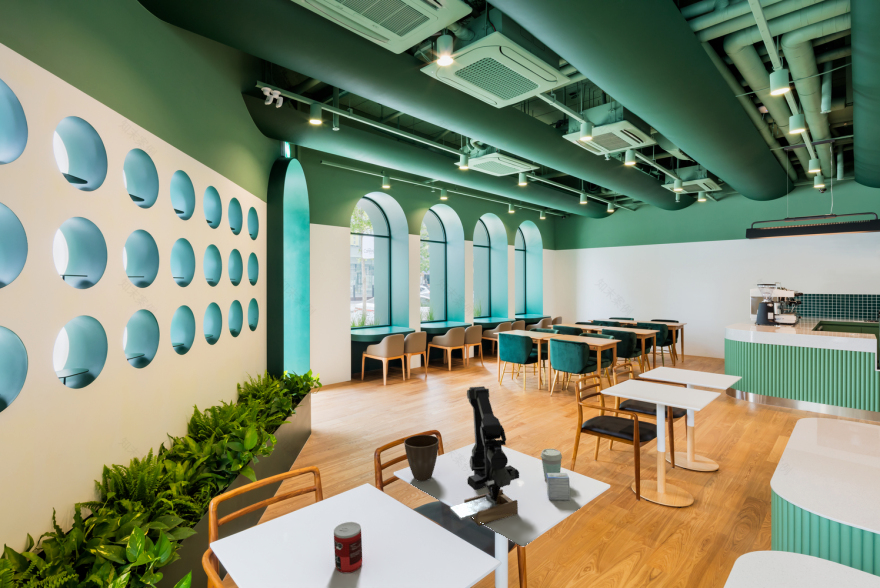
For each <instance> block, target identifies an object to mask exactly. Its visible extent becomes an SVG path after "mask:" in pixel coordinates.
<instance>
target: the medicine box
mask: <svg viewBox="0 0 880 588" xmlns="http://www.w3.org/2000/svg"><path fill="white" fill-rule="evenodd" d="M546 475H547V482H546V493H547V498H548V501H570V500H571V492H570V491H571V490H570V489H571V487H570V477H569V475H568V473H567V472H560V473H546Z"/></svg>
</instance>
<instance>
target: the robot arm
mask: <svg viewBox="0 0 880 588" xmlns="http://www.w3.org/2000/svg"><path fill="white" fill-rule="evenodd" d="M468 388H469V389H467V390H466V397H467V399H468V403H469V404H470V406H471V407H472V413H473V429H474V445H473V448H472V449H471V456H470V458H469V468H470V470H471V471H472V472H473V474H472V475H469V476H468V477H467V479H466V480H467V485H468V486H469V487H471V489H473V490H475V491H479V490H482V489H484V488H485V487H486V488H487V490H488V493H490V495H491V497H492V498H494V499H495V500H497V497H498V494H499V491H500V490H501V489H502V488H504V487H506V486H510V485H511V483H512V481H515V480H517V479H520V471H519V470H518V469H517V468H515V467H514V466H512V465H508V462H509V460H508V456H507V455H506V453H505V452H504V451H503V449H502V446H506V445H507V443H506V441H507V437H506V432H505V429H504V427H503V425H502V424H501V422H500V419H499V418H498V417H497V416H496V415H494V412H493V408H492V405H491V402H490V401H491V400H490V388H486V387H485V386H469V387H468Z"/></svg>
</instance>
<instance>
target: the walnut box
mask: <svg viewBox="0 0 880 588" xmlns="http://www.w3.org/2000/svg"><path fill="white" fill-rule="evenodd" d="M486 494H488V495H490V492H486V493H484V494H480V495H479V494H478V495H476V496H472V497H469V498H465V499H464V500H463V501H464V503H467V502H470V501H473V500H477V499H480V498H483V497H486ZM490 496H491V495H490ZM496 501H497V505H498V506H494V507H491V508H488V509H484V510H481V511H478V512H477V515H476V516H473V518H474V519H473V518H472V517H470V518H469V519H471V520H472V521H473V522H474V523H475V525H477V526H478V527H481V526H484V525H487V524H490V523H493V522H497V521H500V520H502V519H506V518H509V517H512V516H515V515H518V514H519V511H518V510H519V507H518V506H519V504H518V500H517V499H514V500H513V499H512V498H510V497H509V496H507V495H506V494H505V493H504V490H503V489H502V488H500V491H499V494H498V497H497V500H496ZM480 522H481V523H480ZM482 523H484V524H482Z"/></svg>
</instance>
